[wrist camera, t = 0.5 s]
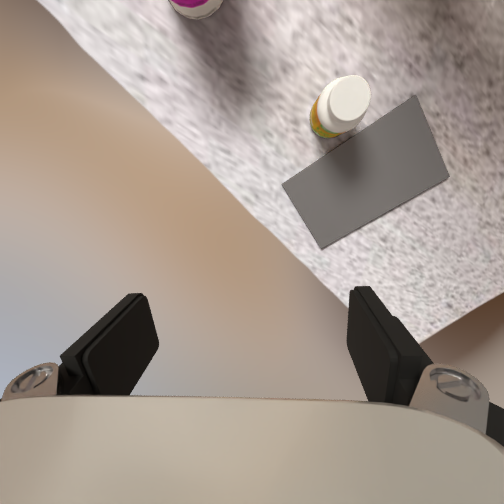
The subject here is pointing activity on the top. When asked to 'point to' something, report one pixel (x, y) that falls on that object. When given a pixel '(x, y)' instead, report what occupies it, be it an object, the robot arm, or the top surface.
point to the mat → (368, 174)
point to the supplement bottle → (340, 106)
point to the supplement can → (196, 7)
